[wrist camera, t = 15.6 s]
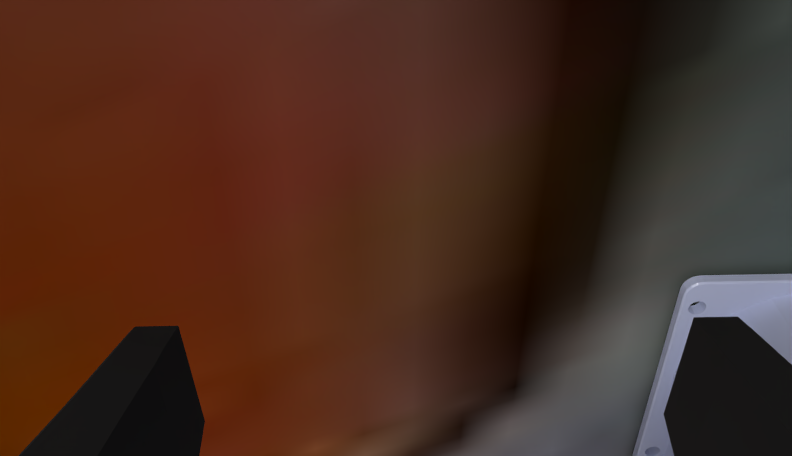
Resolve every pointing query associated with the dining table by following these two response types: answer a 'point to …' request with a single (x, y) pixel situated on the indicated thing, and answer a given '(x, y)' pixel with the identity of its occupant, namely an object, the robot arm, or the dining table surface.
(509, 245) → the dining table surface
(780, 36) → the dining table surface
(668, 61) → the dining table surface
